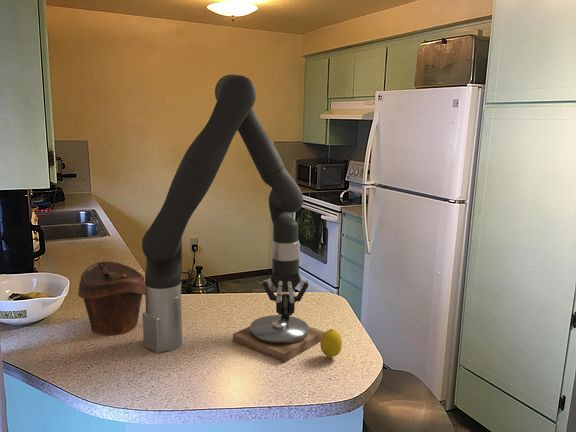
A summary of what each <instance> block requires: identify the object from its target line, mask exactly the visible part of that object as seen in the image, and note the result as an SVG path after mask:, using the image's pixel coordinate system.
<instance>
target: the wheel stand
mask: <svg viewBox="0 0 576 432" xmlns="http://www.w3.org/2000/svg"><path fill="white" fill-rule="evenodd" d="M324 332H325V331H324V330H321V329H318V328H315V327H311V326H309V325H308V335H307V337H306V338H305V339H303V340H301V341H299V342H296V343H291V344H269V343H264V342H261V341H259V340H257V339H255V338H254V337H252V335H251V333H250V325H249V326H247V327H245V328H243V329H241V330H238V331H236V332H234V333H233V334H232V343H234V344H236V345H238V346H241V347H242V348H246V349H248V350H251V351H253V352H255V353H258V354H261V355H262V356H266V357H268V358H270V359H273V360H275V361H278V362H281V363H283V364H285V363H287V362H289V361H290V360H292V359H294V358H295V357H297V356H298V355H300V354H302V353H304V352H306V351H308V350H309V349H310V348H313V347H314V346H316V345H317V344H319V343H321V338H322V335H323V333H324Z"/></svg>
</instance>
